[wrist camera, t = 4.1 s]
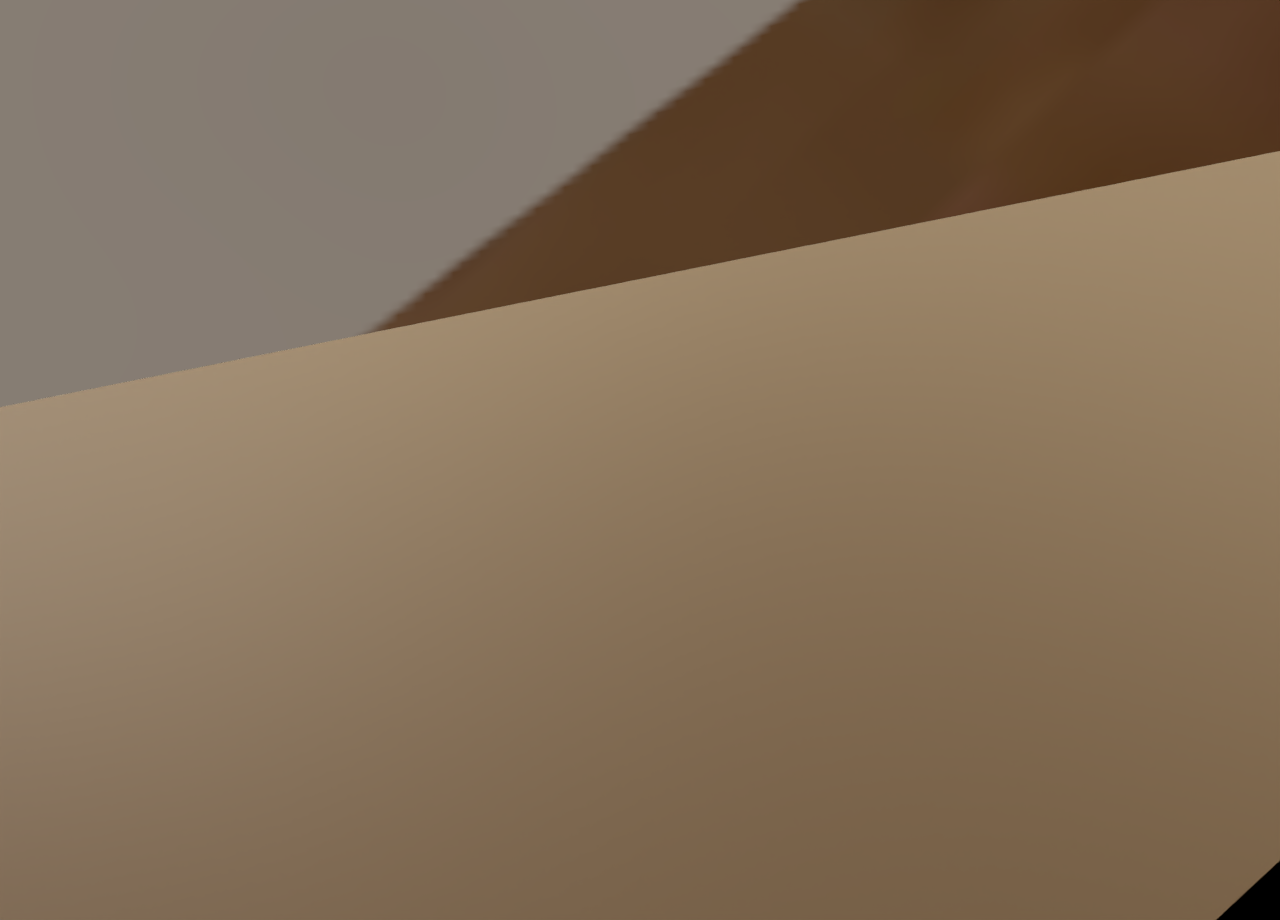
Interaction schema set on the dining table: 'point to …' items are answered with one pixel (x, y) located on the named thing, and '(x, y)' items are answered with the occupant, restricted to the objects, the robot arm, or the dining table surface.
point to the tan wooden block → (682, 595)
